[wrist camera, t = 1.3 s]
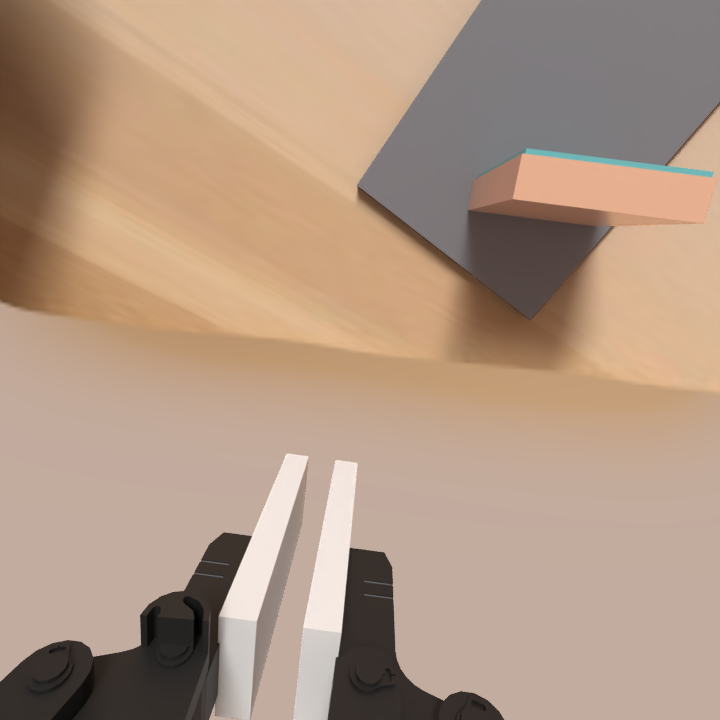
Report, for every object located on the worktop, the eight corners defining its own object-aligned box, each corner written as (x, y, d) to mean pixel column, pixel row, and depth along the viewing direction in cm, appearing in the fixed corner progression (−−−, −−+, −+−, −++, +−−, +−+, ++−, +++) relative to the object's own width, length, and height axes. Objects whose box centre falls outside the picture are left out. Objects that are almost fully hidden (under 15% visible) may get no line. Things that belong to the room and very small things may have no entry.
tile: (594, 226, 34) (703, 223, 23) (467, 210, 34) (512, 199, 23) (603, 192, 33) (720, 172, 22) (474, 176, 34) (523, 147, 22)
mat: (357, 186, 35) (357, 185, 34) (613, -193, 28) (621, -208, 27) (526, 317, 37) (530, 319, 36) (801, -1, 30) (815, -9, 29)
